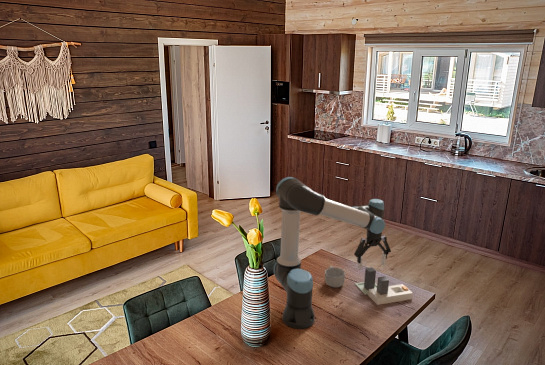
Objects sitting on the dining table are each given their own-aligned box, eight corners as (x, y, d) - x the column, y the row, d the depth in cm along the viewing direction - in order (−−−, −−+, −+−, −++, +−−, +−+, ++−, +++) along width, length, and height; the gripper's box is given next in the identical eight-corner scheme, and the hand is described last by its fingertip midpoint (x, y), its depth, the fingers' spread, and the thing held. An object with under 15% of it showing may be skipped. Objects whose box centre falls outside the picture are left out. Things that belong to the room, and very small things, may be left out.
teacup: (345, 290, 226) (346, 276, 224) (324, 289, 226) (325, 276, 224) (341, 277, 240) (342, 264, 237) (322, 276, 240) (323, 263, 237)
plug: (367, 290, 226) (369, 271, 223) (363, 286, 230) (365, 268, 226) (374, 289, 227) (376, 270, 224) (370, 285, 231) (372, 267, 228)
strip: (377, 305, 213) (379, 284, 210) (368, 296, 221) (370, 275, 218) (411, 299, 219) (414, 279, 215) (401, 290, 227) (404, 270, 224)
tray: (364, 295, 222) (364, 293, 222) (354, 284, 232) (355, 283, 232) (383, 292, 225) (383, 290, 225) (372, 282, 235) (373, 280, 235)
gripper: (356, 234, 212) (353, 272, 218) (400, 229, 219) (396, 266, 225) (349, 228, 218) (346, 266, 225) (392, 223, 225) (388, 259, 232)
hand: (371, 266), depth 225 cm, fingers open, 13 cm apart
